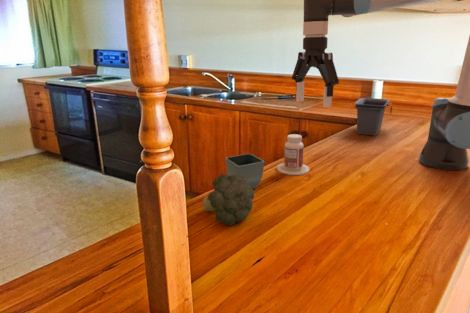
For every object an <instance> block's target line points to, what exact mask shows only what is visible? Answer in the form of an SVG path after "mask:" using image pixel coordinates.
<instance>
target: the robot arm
mask: <svg viewBox="0 0 470 313" xmlns="http://www.w3.org/2000/svg"><path fill="white" fill-rule="evenodd" d="M452 1H453V2H454V3H455V2H461V1H463V0H452ZM435 2H442V0H303V23H302V26H303V27H302V30H303V31H302V35H303V36H304V37H303V39H302V49H303V50H305V51H298V53H297V60H296V64H295V67H294V69H293V73H292V76H291V79H292V80H293V81H294V82H295V92H296V97H295V100H296V101H295V102H297V103H299V102H304V101H305V81H304V79H305V77H306V76H307V74H308V72H309V71H310V69H311V68H316V69H317V70H318V72H319V73H320V76H321V77H322V80H323V83H324V84H325V85H324V86H323V99H322V101H323V102H322V103H323V104H322V107H323V108H330V107H332V102H333V101H332V100H333V95H334V86H337V85H339V83H340V80H339V77H338V72H337V69H336V66H335V63H334V57H333V52H326V51H325V50H327V49H328V37H327V35H328V34H329V32H328V31H329V17H330V16H342V17H344V18H352V17H354V16H360V15H366V14H371V13H377V12H382V11H387V10H393V9H399V8H405V7H411V6H416V5H417V6H418V5H423V4H428V3H435ZM431 109H432V110H431V116H430V122H429V123H430V124H429V128H428V135H427V136H428V137H427V140H426V142H425V144H424V146H423V148H422V150H421V152H420V153H419V158H418V161H419V162H420V164H423V165H424V166H427V167H430V168H433V169H438V170H445V171H462V170H463V171H464V170H466V169H467V168H468V165H469V156H468V149H469V150H470V35H469V36H468V39H467V45H466V48H465V53H464V58H463V61H462V65H461V69H460V74H459V78H458V82H457V85H456V90H455V93H454V95H453V96H451V97H438V98H435V99H434V101H433V104H432V107H431Z"/></svg>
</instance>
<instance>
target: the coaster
mask: <svg viewBox="0 0 470 313" xmlns="http://www.w3.org/2000/svg"><path fill="white" fill-rule="evenodd" d="M276 171H277V172H278V173H280V174H283V175H287V176H302V175H306V174H308V173H309V172H310V166H308V165H307V164H304V163H303V167H302V168H301V169H299V170H289V169H287V168H285V166H284V163H279V164H277V165H276Z"/></svg>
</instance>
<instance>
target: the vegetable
mask: <svg viewBox="0 0 470 313" xmlns="http://www.w3.org/2000/svg"><path fill="white" fill-rule="evenodd" d="M212 186H213V187H214V188H213V189H214V190H213V191H211V192H209V194H208V195H207V196H206V195H205V197H204V198H203V200H202V207H203V209H204V210H205V211H206V212H215V219H216V221H218V222H221V223H222V224H224V225H227V226H234V225H235V223H237V222H242V221H243V220H246V219H247V217H248V216H249V214H250V212H251V211H252V209H253V202H254V200H253V199H254V198H255V191H254V189H252V188H251V187H250V185H249V183H248V182H246V180H245V178H244V177H242V176H239V175H230V176H229V175H228V173H222V174H220V175H219V176H218V177H217V178H216V177H215V178H214V180H213V181H212Z"/></svg>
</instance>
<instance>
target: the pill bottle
mask: <svg viewBox="0 0 470 313" xmlns="http://www.w3.org/2000/svg"><path fill="white" fill-rule="evenodd" d="M286 138H287V141H286V142H285V144H284V166H285V168H287V169H289V170H299V169H301V168H302V167H303V164H304V163H303V162H304V142H302V138H303V137H302V135H301V134H296V133H293V134H288V135H287V137H286Z"/></svg>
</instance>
